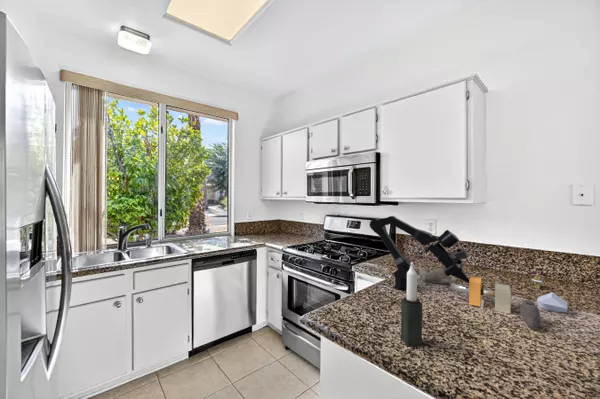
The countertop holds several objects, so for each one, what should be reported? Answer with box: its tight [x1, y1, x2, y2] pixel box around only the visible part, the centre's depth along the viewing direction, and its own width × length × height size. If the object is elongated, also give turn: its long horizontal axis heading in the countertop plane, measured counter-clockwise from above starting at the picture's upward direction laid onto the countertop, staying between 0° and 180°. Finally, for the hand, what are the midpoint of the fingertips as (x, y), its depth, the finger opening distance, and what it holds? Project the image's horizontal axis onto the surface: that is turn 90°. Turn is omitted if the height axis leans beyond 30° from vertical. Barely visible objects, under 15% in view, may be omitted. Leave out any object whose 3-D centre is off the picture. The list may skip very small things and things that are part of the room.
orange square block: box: [468, 275, 482, 308], centre depth 117 cm, size 4×10×10 cm, turn 144°
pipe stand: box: [449, 282, 512, 314], centre depth 116 cm, size 22×13×9 cm, turn 54°
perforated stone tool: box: [519, 299, 541, 330], centre depth 97 cm, size 15×5×7 cm, turn 144°
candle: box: [400, 261, 423, 347], centre depth 83 cm, size 5×5×25 cm
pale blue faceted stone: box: [536, 291, 568, 313], centre depth 112 cm, size 9×7×13 cm
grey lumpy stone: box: [418, 267, 456, 285], centre depth 147 cm, size 16×9×15 cm
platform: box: [531, 274, 544, 290], centre depth 141 cm, size 12×18×7 cm, turn 134°
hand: (469, 282), depth 118 cm, fingers closed, pressing on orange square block
